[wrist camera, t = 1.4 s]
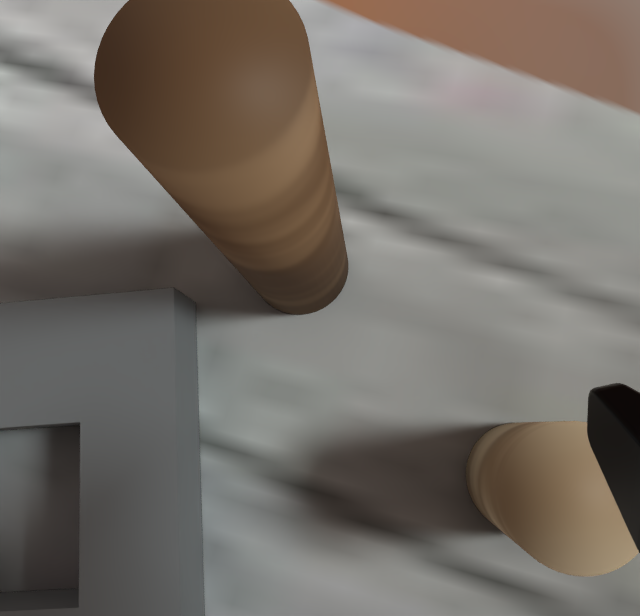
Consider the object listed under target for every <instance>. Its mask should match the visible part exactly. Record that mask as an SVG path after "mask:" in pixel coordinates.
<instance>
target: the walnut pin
mask: <svg viewBox="0 0 640 616" xmlns="http://www.w3.org/2000/svg"><path fill="white" fill-rule="evenodd" d="M94 83H95V92H96V97H97V101H98V104H99V107H100V110H101V112H102V114H103V116H104V118H105V120H106V122H107V124H108V125H109V126H110V128H111V129H112V130H113V132H114V133H115V134H116V136H117V137H118V138H119V139H120V140H121V141H122V142H123V143H124V144H125V146H126V147H127V148H128V149H129V150H130V151H131V152H132V153H133V154H134V156H135V157H136V158H137V159H138V160H139V161H140V162H141V163H142V164H143V166H144V167H145V168H146V169H147V170H148V171H149V172H150V173H151V174H152V176H153V177H154V178H155V179H156V180H157V181H158V182H159V183H160V184H161V186H162V187H163V188H164V189H165V190H166V191H167V192H168V193H169V194H170V196H171V197H172V198H173V199H174V200H175V201H176V202H177V203H178V204H179V206H180V207H181V208H182V209H183V210H184V211H185V212H186V213H187V214H188V216H189V217H190V218H191V219H192V220H193V221H194V222H195V223H196V224H197V226H198V227H199V228H200V229H201V230H202V231H203V232H204V233H205V234H206V236H207V237H208V238H209V239H210V240H211V241H212V242H213V243H214V244H215V246H216V247H217V248H218V249H219V250H220V251H221V252H222V253H223V254H224V256H225V257H226V258H227V259H228V260H229V261H230V262H231V263H232V264H233V266H234V267H235V268H236V269H237V270H238V271H239V272H240V273H241V274H242V276H243V277H244V278H245V279H246V280H247V281H248V282H249V283H250V284H251V286H252V287H253V288H254V289H255V290H256V291H257V292H258V293H259V294H260V296H261V297H262V298H263V299H264V300H265V301H266V302H267V303H268V304H270V305H271V306H272V307H274V308H276V309H277V310H280V311H282V312H285V313H289V314H296V315H298V314H309V313H313V312H316V311H318V310H321V309H323V308H324V307H326V306H327V305H329V304H330V303H331V302H332V301H333V300H334V299H335V298H336V297H337V296H338V295H339V293H340V292H341V290H342V289H343V287H344V284H345V282H346V279H347V275H348V258H347V252H346V247H345V241H344V236H343V230H342V225H341V219H340V213H339V208H338V202H337V197H336V191H335V186H334V180H333V175H332V169H331V164H330V158H329V153H328V147H327V141H326V136H325V130H324V125H323V119H322V114H321V108H320V103H319V97H318V92H317V86H316V80H315V75H314V69H313V64H312V58H311V53H310V47H309V42H308V37H307V33H306V30H305V27H304V24H303V22H302V20H301V18H300V16H299V14H298V12H297V11H296V9H295V8H294V6H293V5H292V3H291V2H290V1H289V0H129V1H128V2H127V3H126V4H125V5H124V6H123V7H122V8H121V9H120V10H119V12H118V13H117V14H116V15H115V17H114V18H113V20H112V21H111V23H110V24H109V26H108V27H107V29H106V31H105V33H104V35H103V37H102V40H101V43H100V46H99V48H98V52H97V56H96V61H95V70H94Z"/></svg>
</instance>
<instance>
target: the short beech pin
mask: <svg viewBox="0 0 640 616" xmlns="http://www.w3.org/2000/svg"><path fill="white" fill-rule="evenodd" d="M466 482H467V487H468V491H469V494H470V496H471V498H472V501H473V502H474V504H475V506H476V507H477V509H478V510H479V511H480V512H481V514H483V515H484V516H485V517H486V518H487V519H488V520H489V521H490V522H491V523H493V524H494V525H495V526H496V527H497V528H498V529H500V530H501V531H502V532H503V533H504V534H506V535H507V536H508V537H509V538H510V539H512V540H513V541H514V542H515V543H516V544H518V545H519V546H520V547H521V548H522V549H523V550H525V551H526V552H527V553H528V554H529V555H531V556H532V557H533V558H535V559H536V560H537V561H538V562H540V563H542V564H543V565H545V566H547V567H548V568H551V569H553V570H555V571H558V572H561V573H564V574H568V575H574V576H596V575H602V574H605V573H609V572H611V571H614V570H616V569H618V568H620V567H622V566H623V565H625V564H627V563H628V562H629V561H630V560H631V559H633V558H634V557H635V556H636V555H637V554H638V552H639V551H638V549H637V547H636V545H635V543H634V541H633V539H632V537H631V535H630V533H629V530H628V528H627V526H626V524H625V522H624V519H623V517H622V515H621V513H620V511H619V508H618V506H617V504H616V502H615V499H614V497H613V495H612V493H611V491H610V488H609V486H608V484H607V482H606V479H605V477H604V475H603V473H602V471H601V468H600V466H599V464H598V462H597V459H596V457H595V455H594V453H593V451H592V448H591V446H590V443H589V439H588V435H587V423H586V422H578V421H557V422H521V423H507V424H503V425H500V426H497V427H495V428H493V429H491V430H489V431H488V432H486V433H485V434H484V435H483V436H482V437H481V438H480V439H479V440H478V441H477V442H476V444H475V445H474V446H473V448H472V450H471V452H470V455H469V458H468V461H467V466H466Z"/></svg>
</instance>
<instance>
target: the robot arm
mask: <svg viewBox="0 0 640 616" xmlns="http://www.w3.org/2000/svg"><path fill="white" fill-rule="evenodd" d="M587 435H588V439H589V443H590V446H591V448H592V451H593V453H594V455H595V457H596V459H597V462H598V464H599V466H600V468H601V471H602V473H603V475H604V477H605V479H606V482H607V484H608V486H609V488H610V491H611V493H612V495H613V497H614V499H615V502H616V504H617V506H618V508H619V511H620V513H621V515H622V517H623V519H624V522H625V524H626V526H627V528H628V530H629V533H630V535H631V537H632V539H633V541H634V543H635V545H636V547H637V549H638V551H639V553H640V393H639V392H638V391H636V390H634V389H632V388H630V387H629V386H627V385H624V384H621V383H615V384H610V385H605V386H601V387H596V388H593V389H592V390H591V391H590V393H589V397H588V417H587Z"/></svg>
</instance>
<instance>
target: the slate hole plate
mask: <svg viewBox="0 0 640 616" xmlns="http://www.w3.org/2000/svg"><path fill="white" fill-rule="evenodd" d="M72 425H80V510H79V588H78V589H59V590H39V591H20V592H1V593H0V616H205V606H204V572H203V538H202V504H201V470H200V436H199V401H198V367H197V333H196V302H194V301H193V300H191V299H190V298H188V297H187V296H185V295H184V294H183V293H181V292H180V291H178V290H177V289H175V288H174V287H173V288H162V289H151V290H140V291H129V292H118V293H107V294H96V295H85V296H74V297H63V298H52V299H41V300H30V301H19V302H8V303H0V431H4V430H18V429H31V428H45V427H58V426H72Z"/></svg>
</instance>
